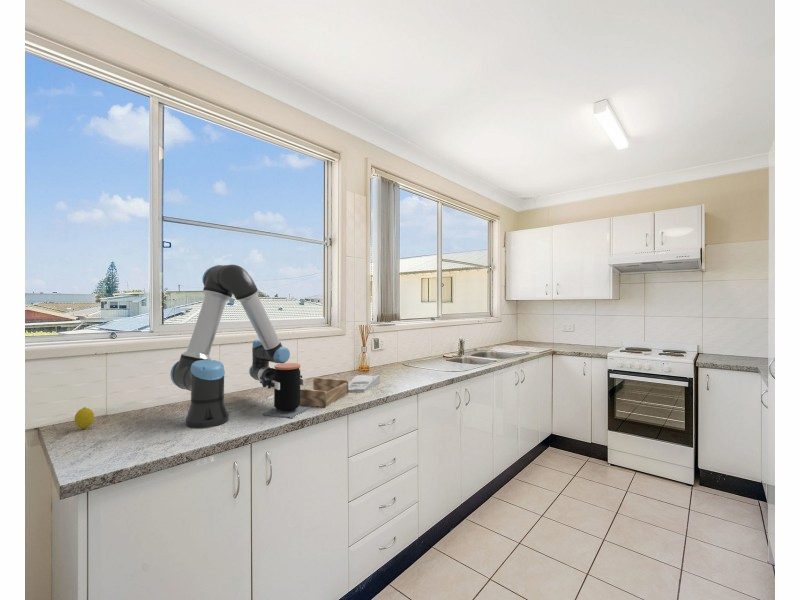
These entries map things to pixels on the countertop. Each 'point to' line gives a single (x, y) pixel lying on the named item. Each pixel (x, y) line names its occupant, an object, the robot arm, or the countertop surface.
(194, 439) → the countertop surface
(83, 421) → the lemon
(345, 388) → the wooden tray
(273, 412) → the rubber mat
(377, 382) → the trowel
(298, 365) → the coffee jar
